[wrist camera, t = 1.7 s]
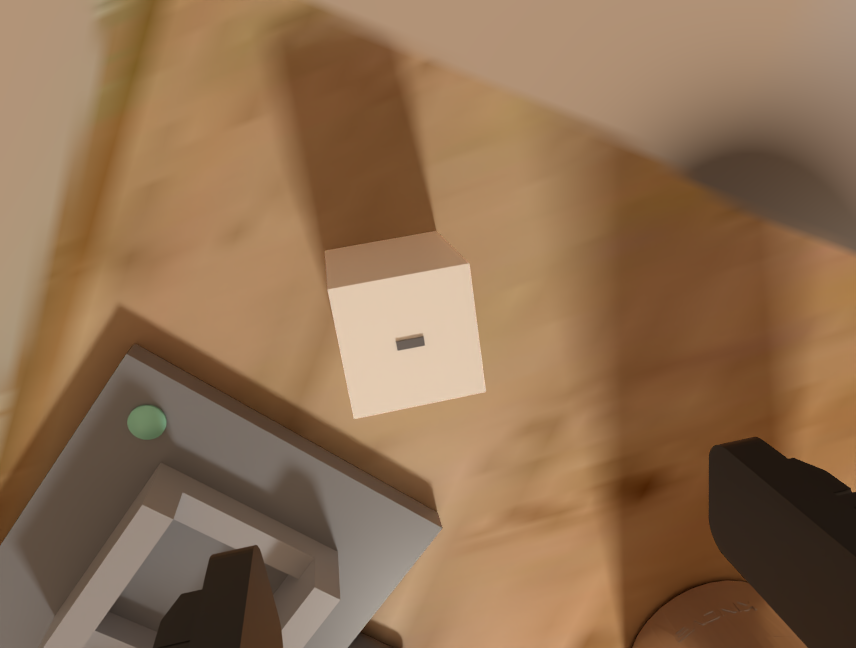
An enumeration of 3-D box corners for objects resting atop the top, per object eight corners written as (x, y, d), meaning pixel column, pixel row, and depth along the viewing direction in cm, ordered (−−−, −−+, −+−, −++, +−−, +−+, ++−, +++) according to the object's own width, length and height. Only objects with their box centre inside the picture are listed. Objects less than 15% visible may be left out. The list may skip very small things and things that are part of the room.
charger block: (436, 230, 26) (470, 263, 21) (451, 335, 28) (486, 393, 22) (324, 250, 26) (327, 290, 20) (345, 355, 27) (354, 420, 22)
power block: (495, 545, 31) (521, 607, 28) (318, 763, 34) (318, 849, 30) (134, 343, 26) (102, 385, 22) (-49, 621, 28) (-109, 705, 24)
